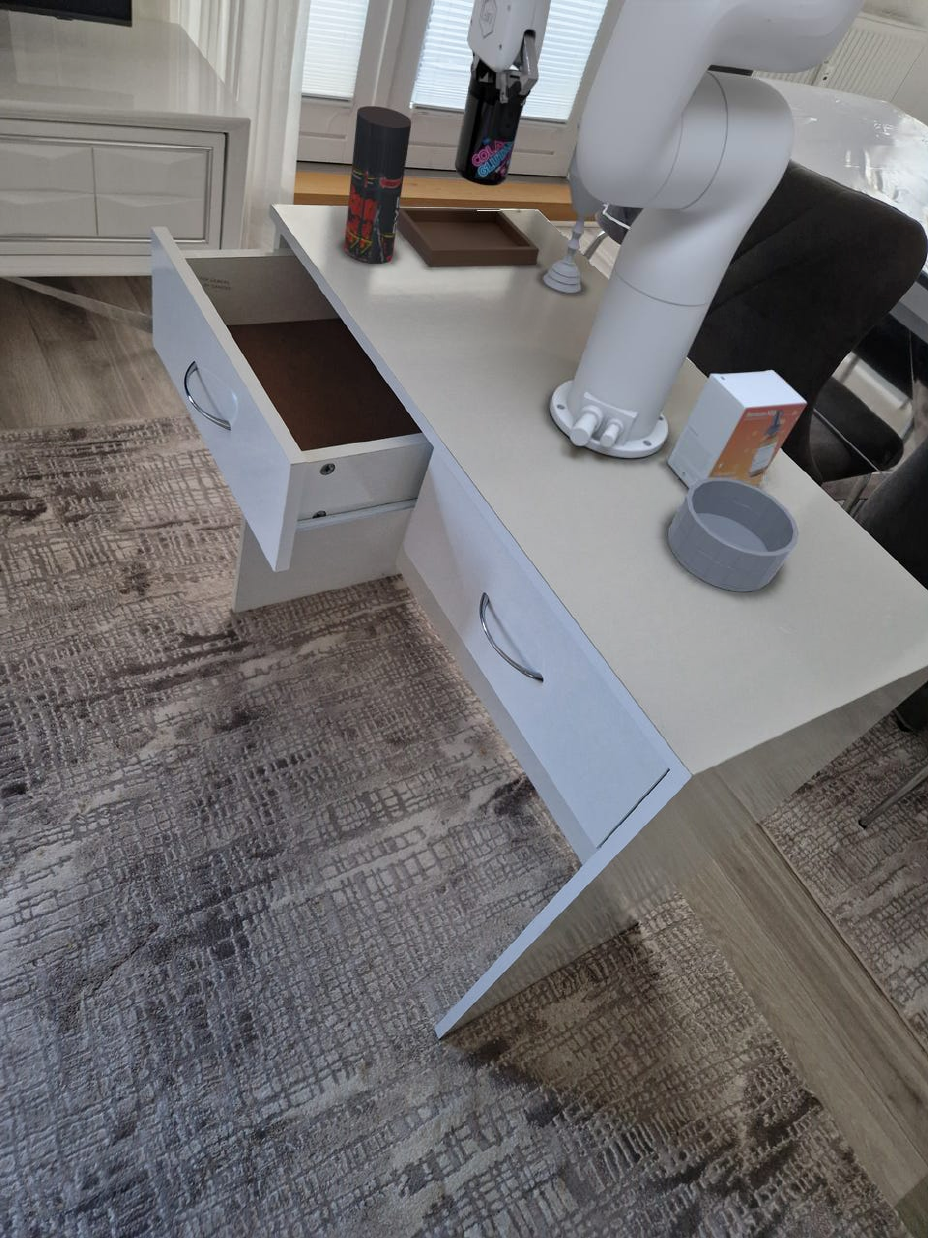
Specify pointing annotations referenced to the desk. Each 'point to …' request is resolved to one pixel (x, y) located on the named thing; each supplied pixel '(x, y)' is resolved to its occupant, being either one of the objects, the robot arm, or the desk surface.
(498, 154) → the supplement container
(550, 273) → the chalice
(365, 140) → the deodorant
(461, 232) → the walnut tray
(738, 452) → the small box
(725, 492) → the gray bowl
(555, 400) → the robot arm
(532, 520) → the desk surface
